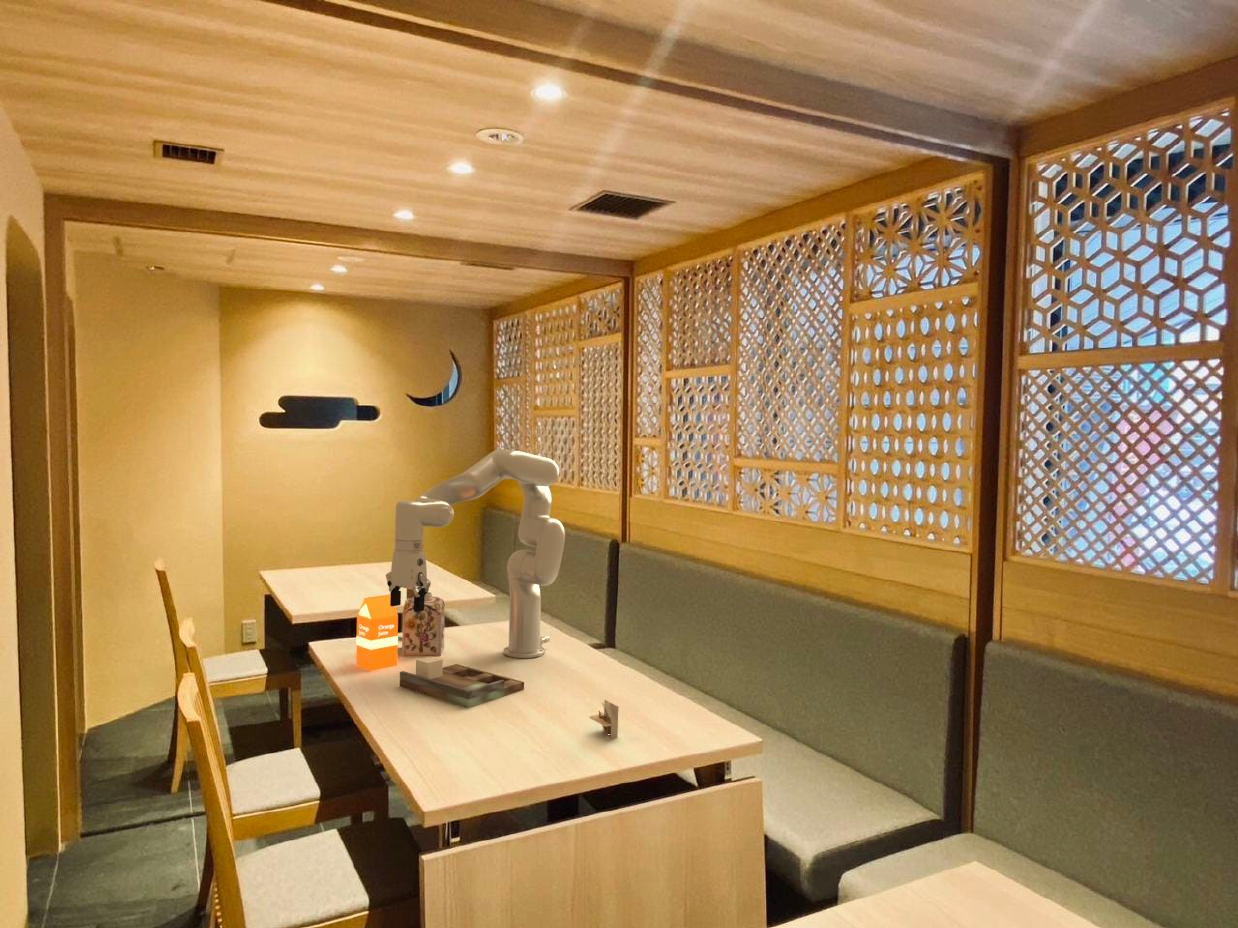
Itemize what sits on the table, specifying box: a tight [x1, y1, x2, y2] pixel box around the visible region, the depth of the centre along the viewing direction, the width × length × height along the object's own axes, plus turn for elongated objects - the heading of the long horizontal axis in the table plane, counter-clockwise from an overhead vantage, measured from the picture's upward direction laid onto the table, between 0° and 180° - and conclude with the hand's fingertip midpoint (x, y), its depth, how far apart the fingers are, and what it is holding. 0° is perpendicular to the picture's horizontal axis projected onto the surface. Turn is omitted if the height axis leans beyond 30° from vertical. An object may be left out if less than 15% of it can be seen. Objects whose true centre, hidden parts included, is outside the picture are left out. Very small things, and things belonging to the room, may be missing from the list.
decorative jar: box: [401, 591, 445, 657], centre depth 268 cm, size 12×12×18 cm
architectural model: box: [589, 699, 619, 738], centre depth 201 cm, size 3×7×7 cm, turn 34°
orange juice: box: [355, 594, 399, 672], centre depth 252 cm, size 8×9×20 cm
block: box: [415, 656, 444, 679], centre depth 236 cm, size 5×5×4 cm
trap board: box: [399, 663, 525, 709], centre depth 233 cm, size 20×26×4 cm
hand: (406, 608), depth 241 cm, fingers open, 9 cm apart
